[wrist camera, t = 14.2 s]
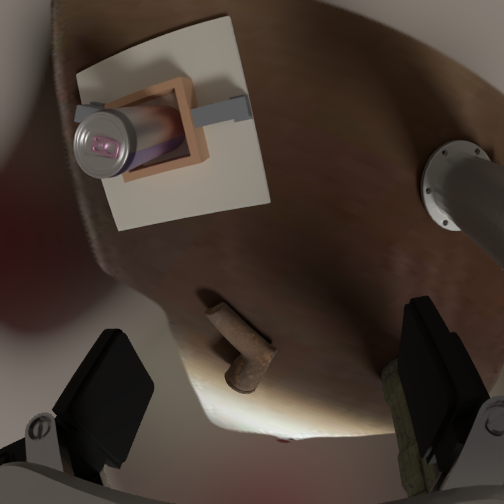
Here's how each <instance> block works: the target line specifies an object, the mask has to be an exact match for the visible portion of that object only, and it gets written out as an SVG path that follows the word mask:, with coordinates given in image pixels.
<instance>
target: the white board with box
mask: <svg viewBox="0 0 504 504" xmlns="http://www.w3.org/2000/svg"><path fill="white" fill-rule="evenodd" d="M76 77H77V83H78V88H79V93H80V98H81V102H82V105H77V109H76V114H75V120H74V122H79V123H81V122H82V121H83V120H84V119H85V118H86V117H87V116H89V115H90V114H92V113H95V112H97V111H99V110H102V109H109V108H121V107H135V106H157V105H167V106H171V107H174V108H175V109H177V110H178V111H179V112H180V114H181V118H182V122H183V126H184V130H185V137H184V139H183V141H182V143H181V144H180V145H179V146H178V147H177V148H176V149H174V150H173V151H170V152H168V153H166V154H164V155H161V156H159V157H157V158H154V159H152V160H150V161H148V162H146V163H143V164H141V165H139V166H137V167H135V168H133V169H131V170H129V171H127V172H124V173H122V174H120V175H118V176H116V177H112V178H104V179H101V180H102V183H103V186H104V189H105V193H106V196H107V199H108V202H109V205H110V208H111V211H112V214H113V217H114V220H115V223H116V226H117V228H118V231H122V230H127V229H131V228H136V227H141V226H146V225H151V224H156V223H161V222H166V221H171V220H176V219H181V218H186V217H192V216H197V215H202V214H208V213H213V212H219V211H225V210H230V209H236V208H242V207H248V206H254V205H260V204H266V203H270V202H271V200H270V195H269V190H268V185H267V180H266V175H265V170H264V165H263V160H262V156H261V151H260V146H259V141H258V136H257V132H256V127H255V122H254V118H253V113H252V108H251V104H250V99H249V95H248V90H247V86H246V81H245V77H244V73H243V68H242V64H241V60H240V55H239V51H238V47H237V43H236V38H235V34H234V30H233V26H232V22H231V18H230V16H225V17H221V18H217V19H214V20H210V21H206V22H203V23H199V24H196V25H193V26H189V27H186V28H183V29H180V30H177V31H174V32H171V33H168V34H165V35H162V36H160V37H157V38H154V39H152V40H149V41H146V42H144V43H141V44H139V45H137V46H134V47H132V48H129V49H127V50H125V51H123V52H120V53H118V54H116V55H114V56H112V57H109V58H107V59H105V60H103V61H101V62H99V63H97V64H95V65H93V66H91V67H89V68H87V69H85V70H83V71H82V72H80V73H78V74H76Z"/></svg>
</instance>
